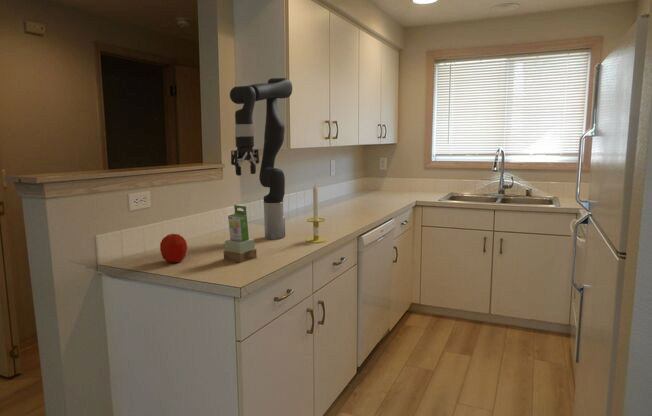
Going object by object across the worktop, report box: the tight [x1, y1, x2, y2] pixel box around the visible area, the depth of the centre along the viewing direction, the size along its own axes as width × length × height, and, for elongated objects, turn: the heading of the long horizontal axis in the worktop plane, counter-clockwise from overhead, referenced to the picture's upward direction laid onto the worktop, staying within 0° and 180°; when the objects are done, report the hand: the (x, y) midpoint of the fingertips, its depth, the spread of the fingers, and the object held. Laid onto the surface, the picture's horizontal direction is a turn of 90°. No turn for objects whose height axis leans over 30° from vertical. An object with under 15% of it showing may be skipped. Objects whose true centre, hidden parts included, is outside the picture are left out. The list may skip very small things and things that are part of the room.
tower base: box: [223, 248, 257, 264], centre depth 182 cm, size 9×9×4 cm
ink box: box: [227, 204, 250, 242], centre depth 180 cm, size 7×4×13 cm, turn 52°
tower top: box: [224, 238, 256, 253], centre depth 182 cm, size 8×8×4 cm
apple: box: [159, 233, 188, 264], centre depth 179 cm, size 10×10×12 cm
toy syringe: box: [305, 183, 328, 244], centre depth 212 cm, size 10×10×27 cm
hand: (246, 174), depth 193 cm, fingers open, 8 cm apart
